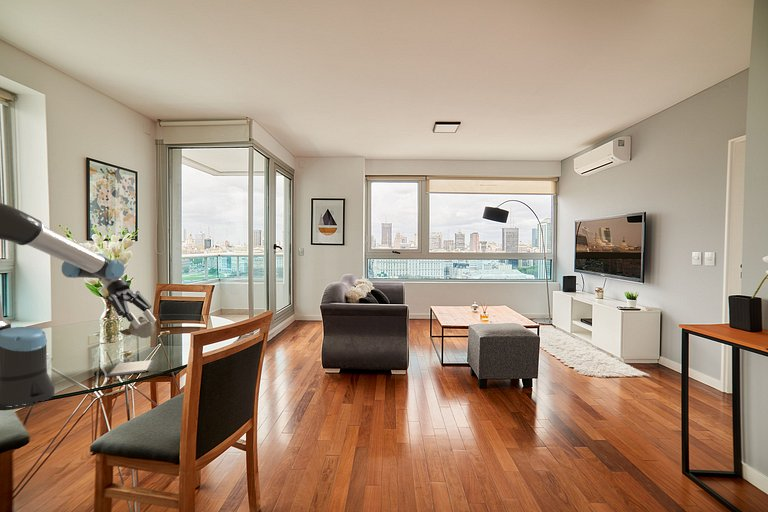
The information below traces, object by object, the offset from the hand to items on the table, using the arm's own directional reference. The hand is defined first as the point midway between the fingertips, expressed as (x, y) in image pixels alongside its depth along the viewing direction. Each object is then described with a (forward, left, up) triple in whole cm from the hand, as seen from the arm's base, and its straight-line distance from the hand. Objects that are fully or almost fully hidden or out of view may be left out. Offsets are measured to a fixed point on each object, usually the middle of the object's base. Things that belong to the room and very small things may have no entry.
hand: (146, 324), depth 158 cm
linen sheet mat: (-4, -6, -17) cm, 18 cm away
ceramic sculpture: (-3, +3, -6) cm, 7 cm away
